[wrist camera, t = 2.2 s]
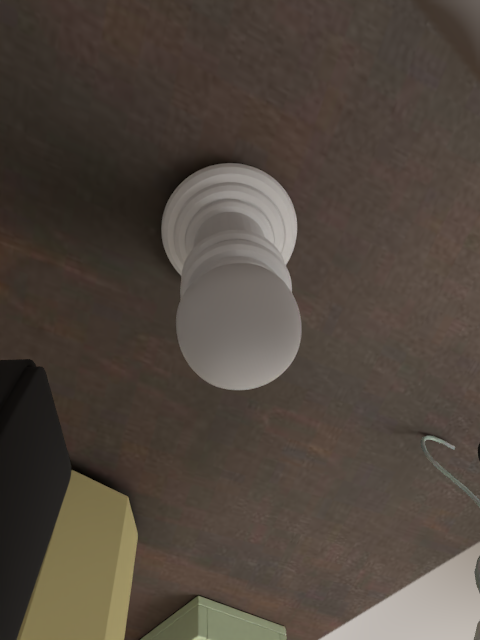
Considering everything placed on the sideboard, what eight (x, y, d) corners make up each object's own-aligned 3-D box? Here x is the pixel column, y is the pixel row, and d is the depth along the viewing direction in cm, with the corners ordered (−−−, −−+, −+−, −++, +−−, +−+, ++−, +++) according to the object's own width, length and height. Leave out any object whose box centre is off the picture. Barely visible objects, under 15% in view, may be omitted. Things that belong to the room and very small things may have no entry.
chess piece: (188, 302, 20) (179, 463, 12) (141, 184, 17) (91, 295, 9) (306, 267, 19) (376, 413, 12) (278, 141, 16) (343, 221, 9)
